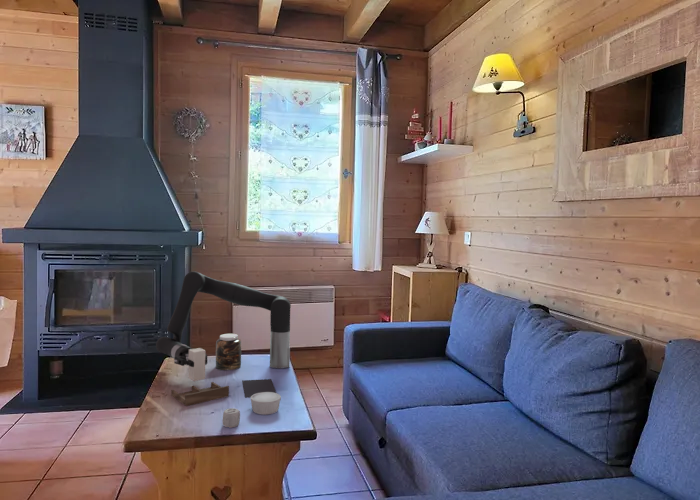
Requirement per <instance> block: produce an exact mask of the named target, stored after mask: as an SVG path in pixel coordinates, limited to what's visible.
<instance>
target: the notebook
mask: <svg viewBox="0 0 700 500" xmlns="http://www.w3.org/2000/svg"><path fill="white" fill-rule="evenodd" d="M241 383H242V388H243V395H244V398H245V399H248V398H250V399H251V396H252V395H254V394H256V393H261V392H273V393H277V391H276V388H275V385H274V383H273V379H272V378H265V379H263V378H262V379H261V378H260V379H246V380H241Z"/></svg>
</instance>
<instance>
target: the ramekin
mask: <svg viewBox="0 0 700 500" xmlns="http://www.w3.org/2000/svg"><path fill="white" fill-rule="evenodd" d="M281 399H282V396H281V394H279V393H277V392H276V393H273V392H261V393H256V394H254V395H252V396H251V398H250V402H251V403H250V404H251V409H252V411H253V413H255V414H256V415H264V416H265V415H266V416H267V415H273V414H275V413H277V412H278V411H279V408H280V403H281Z"/></svg>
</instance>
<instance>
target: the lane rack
mask: <svg viewBox="0 0 700 500" xmlns="http://www.w3.org/2000/svg"><path fill="white" fill-rule="evenodd" d="M170 394H171V395H170V396H171V397H173V398H175V399H176V400H177V401H178V402H180V403H181V404H182V405H184V406H186V407H188V406H191V405H197V404H202V403H205V402H209V401H214V400H218V399H223V398H228V397H230V386H229V385H226V386H220V384H217V383H216V382H214V381H211V382H210V386H209V387H204V388H198V387H196V386H195V385H192V386H191V390H190V391H186V392H180V393H179V392H177V391H176V390H174V389H171V393H170Z"/></svg>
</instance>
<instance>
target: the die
mask: <svg viewBox="0 0 700 500" xmlns="http://www.w3.org/2000/svg"><path fill="white" fill-rule="evenodd" d="M221 421H222V426H224V427H225V428H227V427H229V429H230V428H231V429H232V428H236V427H238V426H239V425H240V421H241V412H240V410H239V409H238V408H233V407H232V408H227V409H226V408H225V410H223V414H222V420H221Z"/></svg>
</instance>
